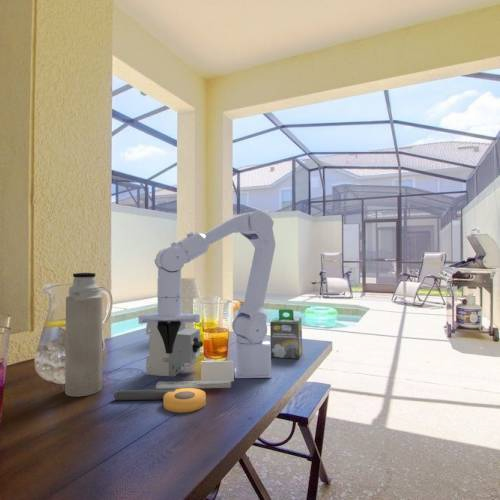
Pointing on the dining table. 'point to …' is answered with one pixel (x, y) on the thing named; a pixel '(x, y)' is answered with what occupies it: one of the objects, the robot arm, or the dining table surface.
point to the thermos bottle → (83, 337)
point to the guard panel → (217, 371)
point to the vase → (188, 297)
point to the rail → (192, 384)
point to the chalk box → (286, 335)
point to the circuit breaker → (182, 352)
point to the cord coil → (184, 400)
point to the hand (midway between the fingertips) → (169, 352)
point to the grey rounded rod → (141, 394)
